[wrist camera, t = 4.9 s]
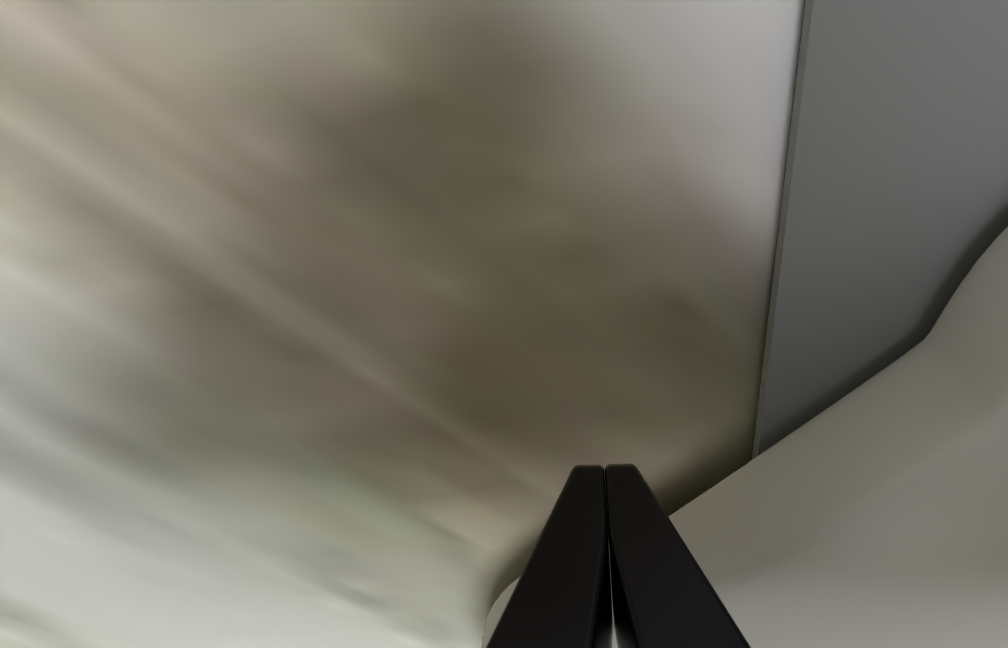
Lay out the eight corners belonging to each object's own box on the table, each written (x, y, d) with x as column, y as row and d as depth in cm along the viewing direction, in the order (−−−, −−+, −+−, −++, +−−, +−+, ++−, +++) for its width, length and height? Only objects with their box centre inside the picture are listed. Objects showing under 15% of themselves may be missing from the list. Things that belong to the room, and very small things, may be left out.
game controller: (418, 636, 16) (667, 749, 19) (400, 738, 14) (679, 847, 17) (1466, -153, 7) (1691, 293, 9) (1822, -156, 5) (1983, 407, 7)
